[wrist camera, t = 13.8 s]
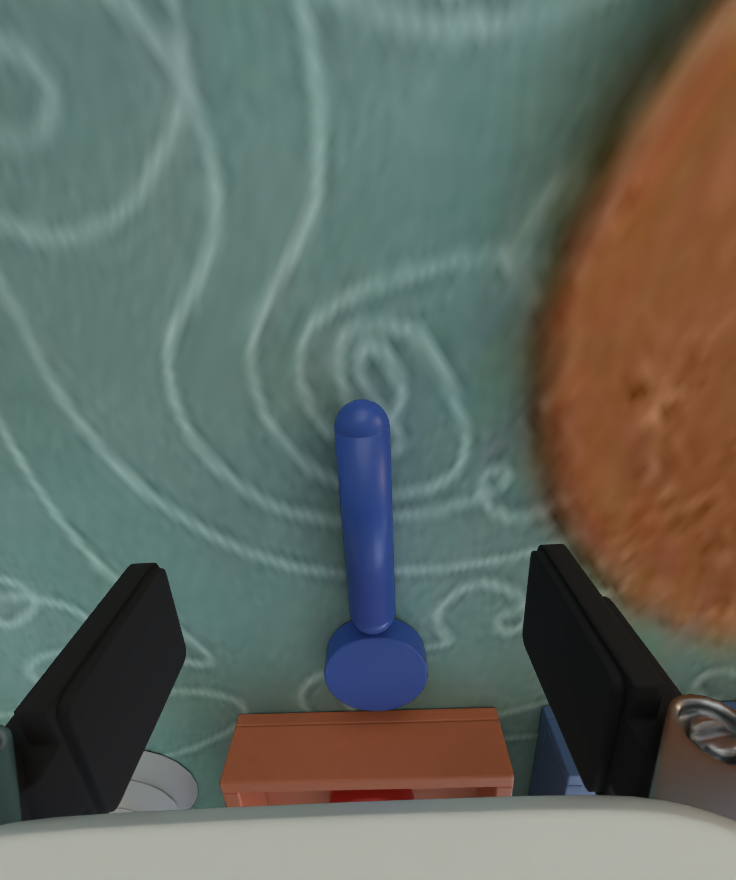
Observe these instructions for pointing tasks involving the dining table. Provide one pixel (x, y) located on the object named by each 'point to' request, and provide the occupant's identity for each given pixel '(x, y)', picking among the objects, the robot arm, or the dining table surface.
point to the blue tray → (558, 761)
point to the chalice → (158, 786)
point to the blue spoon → (370, 574)
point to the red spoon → (370, 795)
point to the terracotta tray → (366, 755)
